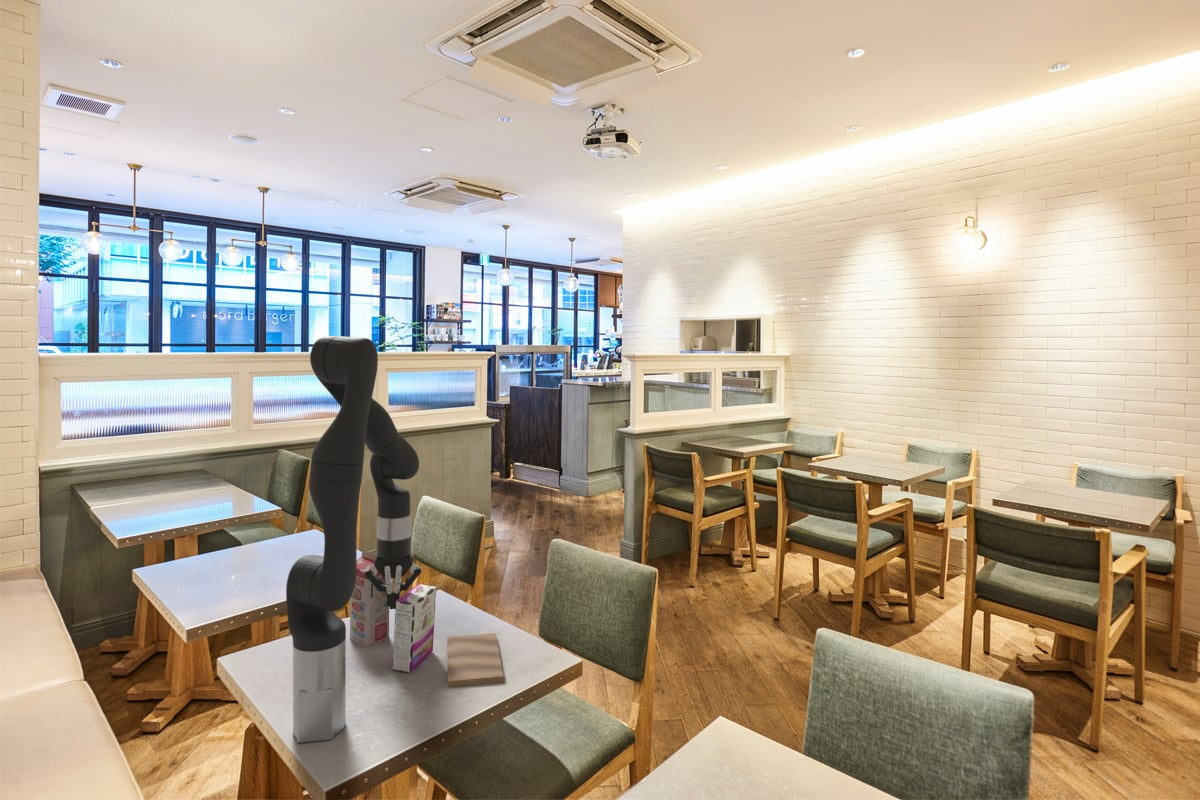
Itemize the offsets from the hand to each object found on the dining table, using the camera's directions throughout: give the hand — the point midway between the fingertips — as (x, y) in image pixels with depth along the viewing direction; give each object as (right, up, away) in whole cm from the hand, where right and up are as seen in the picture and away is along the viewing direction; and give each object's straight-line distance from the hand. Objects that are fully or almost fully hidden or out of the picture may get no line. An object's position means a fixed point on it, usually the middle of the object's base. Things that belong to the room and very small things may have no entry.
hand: (393, 607), depth 148 cm
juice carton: (-10, -12, +13) cm, 20 cm away
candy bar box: (+4, -13, +2) cm, 14 cm away
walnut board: (+18, -14, +3) cm, 23 cm away
